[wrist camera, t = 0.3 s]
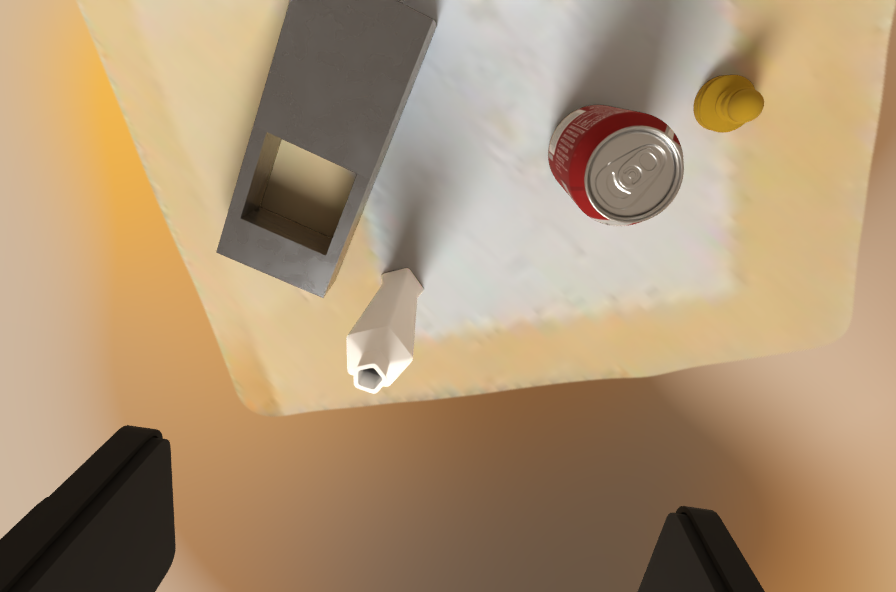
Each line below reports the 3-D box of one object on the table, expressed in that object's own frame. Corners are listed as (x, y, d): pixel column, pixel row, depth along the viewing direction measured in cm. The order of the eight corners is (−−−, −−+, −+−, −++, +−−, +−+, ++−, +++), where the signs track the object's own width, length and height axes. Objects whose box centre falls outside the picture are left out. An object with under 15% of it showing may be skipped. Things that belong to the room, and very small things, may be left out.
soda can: (529, 147, 41) (549, 173, 30) (599, 84, 39) (649, 86, 28) (582, 210, 43) (620, 256, 31) (652, 152, 41) (719, 180, 29)
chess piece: (709, 67, 38) (742, 65, 34) (758, 85, 38) (796, 86, 34) (683, 121, 40) (711, 126, 35) (730, 137, 40) (764, 145, 35)
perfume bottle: (434, 273, 45) (417, 359, 31) (417, 316, 47) (394, 415, 33) (384, 255, 45) (344, 333, 31) (369, 298, 46) (324, 392, 33)
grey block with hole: (320, -35, 37) (303, -47, 33) (437, 24, 38) (433, 19, 34) (237, 238, 45) (216, 252, 41) (335, 280, 46) (323, 297, 42)
